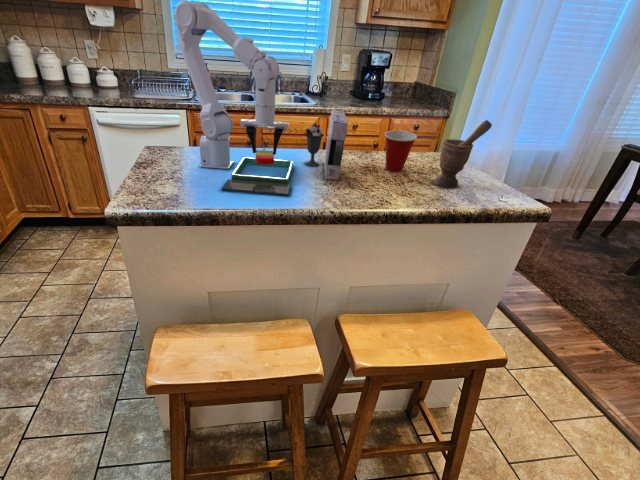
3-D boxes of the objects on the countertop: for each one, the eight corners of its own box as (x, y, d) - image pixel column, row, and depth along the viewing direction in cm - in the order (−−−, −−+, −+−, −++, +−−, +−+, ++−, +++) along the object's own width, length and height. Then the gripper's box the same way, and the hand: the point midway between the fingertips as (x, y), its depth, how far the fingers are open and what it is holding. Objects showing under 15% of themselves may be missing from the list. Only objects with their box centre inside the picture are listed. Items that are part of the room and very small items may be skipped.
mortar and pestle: (461, 180, 129) (481, 116, 117) (473, 189, 122) (496, 121, 110) (428, 180, 128) (446, 114, 116) (439, 188, 121) (459, 120, 109)
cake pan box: (340, 182, 121) (348, 121, 111) (324, 181, 121) (331, 120, 111) (337, 164, 137) (344, 110, 126) (323, 163, 137) (329, 109, 127)
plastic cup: (375, 171, 133) (382, 134, 126) (381, 163, 141) (387, 128, 134) (406, 176, 130) (415, 139, 123) (411, 168, 138) (419, 132, 131)
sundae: (321, 162, 138) (325, 117, 130) (320, 167, 133) (325, 121, 124) (303, 160, 139) (306, 115, 130) (302, 166, 133) (305, 119, 125)
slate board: (221, 191, 109) (221, 188, 109) (228, 182, 116) (227, 179, 115) (287, 196, 108) (287, 193, 108) (290, 187, 115) (290, 184, 114)
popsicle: (255, 164, 115) (255, 157, 114) (255, 151, 127) (255, 145, 126) (274, 165, 116) (274, 158, 114) (272, 152, 128) (272, 146, 127)
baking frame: (231, 181, 117) (231, 174, 115) (243, 163, 133) (243, 157, 132) (287, 185, 116) (287, 179, 115) (292, 166, 132) (293, 161, 131)
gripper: (238, 105, 110) (239, 154, 118) (288, 109, 109) (285, 158, 117) (242, 102, 115) (243, 148, 123) (290, 105, 115) (288, 152, 123)
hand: (264, 153), depth 121 cm, fingers closed on popsicle, 6 cm apart
